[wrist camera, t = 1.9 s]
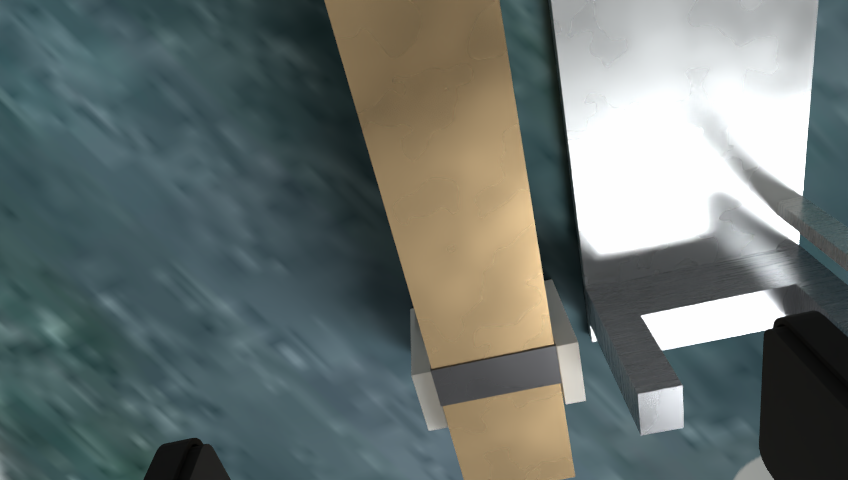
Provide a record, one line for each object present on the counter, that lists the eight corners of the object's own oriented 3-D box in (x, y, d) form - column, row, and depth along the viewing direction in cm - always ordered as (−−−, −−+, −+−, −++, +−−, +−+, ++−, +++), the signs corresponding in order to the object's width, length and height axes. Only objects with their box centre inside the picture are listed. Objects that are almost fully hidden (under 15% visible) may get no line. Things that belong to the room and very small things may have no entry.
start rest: (270, -163, 18) (235, -183, 14) (476, -220, 18) (497, -258, 14) (425, 359, 28) (428, 430, 24) (560, 332, 28) (585, 400, 24)
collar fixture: (517, -253, 17) (613, -392, 10) (834, -343, 17) (1222, -572, 9) (589, 335, 28) (663, 502, 20) (787, 295, 27) (946, 452, 19)
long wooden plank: (278, -234, 15) (239, -281, 12) (436, -280, 15) (447, -343, 11) (458, 416, 26) (467, 497, 22) (552, 398, 26) (576, 477, 22)
